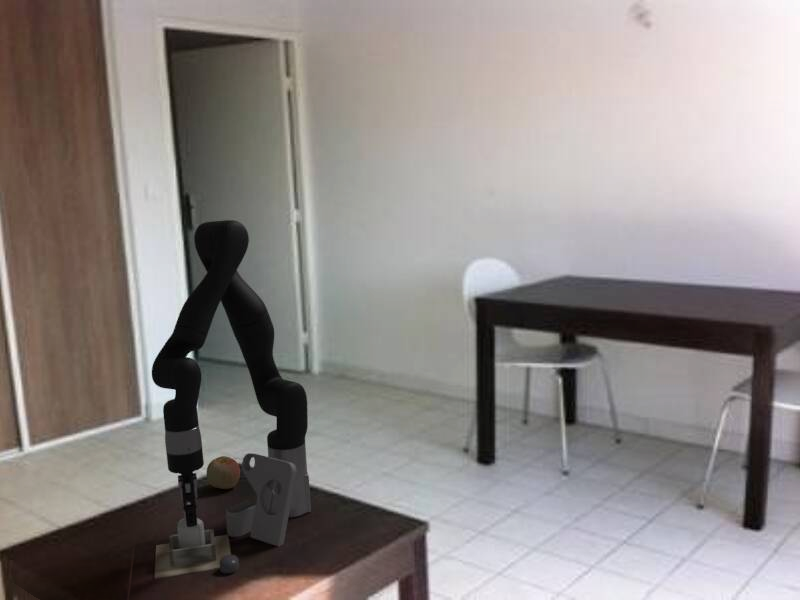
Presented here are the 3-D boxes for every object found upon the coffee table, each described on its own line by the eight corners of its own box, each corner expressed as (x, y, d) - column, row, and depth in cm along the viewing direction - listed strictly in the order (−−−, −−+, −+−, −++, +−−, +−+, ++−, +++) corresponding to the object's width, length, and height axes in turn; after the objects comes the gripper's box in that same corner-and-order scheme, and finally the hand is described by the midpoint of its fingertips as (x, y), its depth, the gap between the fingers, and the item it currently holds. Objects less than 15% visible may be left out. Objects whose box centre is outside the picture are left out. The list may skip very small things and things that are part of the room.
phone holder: (222, 536, 194) (215, 462, 191) (254, 521, 202) (248, 450, 199) (274, 554, 184) (268, 477, 181) (306, 537, 191) (301, 462, 189)
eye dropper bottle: (192, 562, 180) (187, 509, 178) (177, 554, 183) (172, 503, 181) (208, 554, 183) (204, 502, 181) (193, 547, 186) (189, 496, 185)
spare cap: (238, 560, 179) (238, 553, 178) (240, 574, 175) (239, 567, 174) (219, 563, 178) (218, 556, 177) (220, 577, 174) (220, 570, 173)
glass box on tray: (228, 538, 193) (226, 520, 192) (232, 569, 177) (231, 549, 177) (156, 549, 189) (154, 530, 188) (154, 582, 173) (153, 561, 173)
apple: (225, 479, 231) (222, 451, 229) (248, 485, 225) (245, 457, 224) (201, 490, 224) (198, 461, 222) (223, 496, 218) (221, 467, 217)
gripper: (203, 455, 173) (210, 528, 176) (200, 434, 187) (207, 502, 189) (165, 460, 171) (174, 534, 174) (166, 439, 185) (173, 508, 187)
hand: (191, 518), depth 182 cm, fingers open, 8 cm apart
